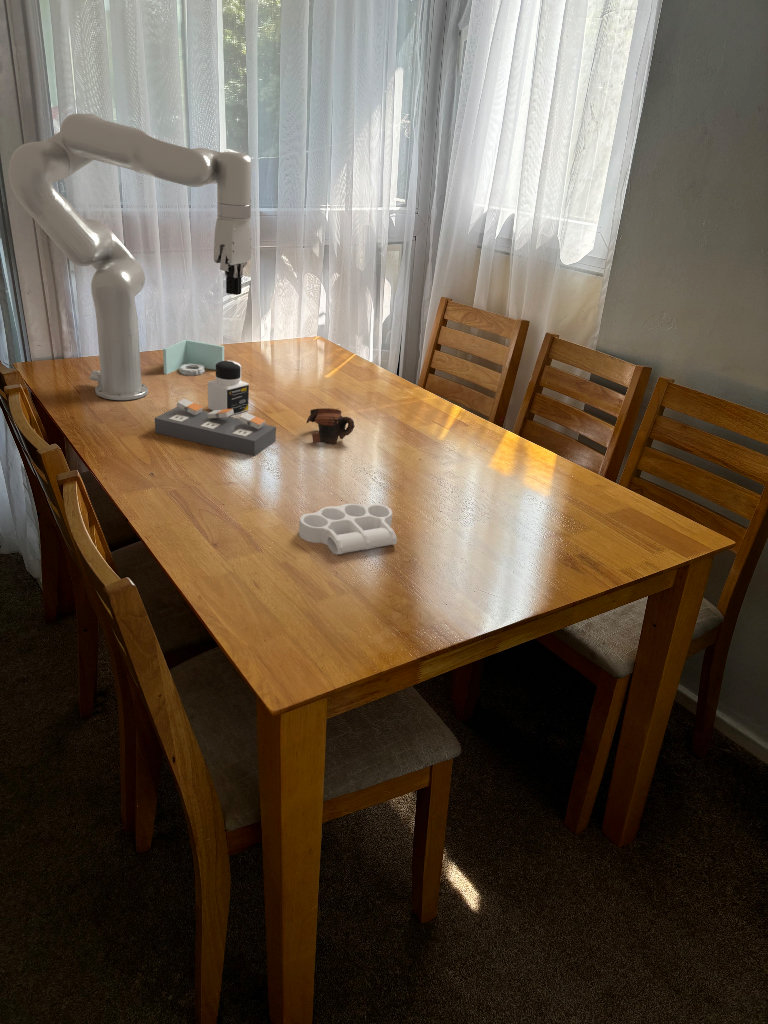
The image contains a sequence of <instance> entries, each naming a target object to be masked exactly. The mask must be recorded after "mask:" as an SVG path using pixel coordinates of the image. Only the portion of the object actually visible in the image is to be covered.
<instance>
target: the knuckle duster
mask: <svg viewBox="0 0 768 1024" xmlns="http://www.w3.org/2000/svg"><path fill="white" fill-rule="evenodd" d="M392 519H393V510H392V509H391V508H390V507H389V506H386V505H385V504H381V503H375V502H373V503H370V504H359V503H344V504H342V505H337V506H335V505H334V506H332V505H330V506H329V505H328V506H325V507H322V508H320V509H319V510H318V511H315V512H311V513H304V514H302V515H301V516H300V517H299V524H298V525H299V526H298V535H299V537H300V538H301V539H302V540H304V541H306V542H309V543H314V544H315V543H316V544H320V543H321V544H324V545H326V546H327V547H328V548H329V551H330V552H331V553H332V554H334V555H337V556H338V555H342V554H347V553H353V552H358V551H359V552H360V551H365V550H370V549H375V548H376V549H377V548H381V547H385V546H387V547H388V546H393V545H396V544H397V543H398V539H397V538H398V537H397V535H396V533H395V531H394V529H393V528H392V527H391V526H392Z"/></svg>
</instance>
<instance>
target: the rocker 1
mask: <svg viewBox="0 0 768 1024" xmlns="http://www.w3.org/2000/svg"><path fill="white" fill-rule="evenodd" d="M176 407H180V408H182V409H184V410H185V411H187V412H189V413H191V414H193V415H197V414H199V413H200V412H202V410H203V409H204V407H203V406H202V405H199V404H197V403H195V402H193V401H191V400H188V399H186V398H182V399H180V400H179V401H177V403H176ZM203 411H204V410H203Z"/></svg>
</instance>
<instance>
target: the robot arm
mask: <svg viewBox="0 0 768 1024" xmlns="http://www.w3.org/2000/svg"><path fill="white" fill-rule="evenodd" d="M93 161H96V162H97V161H98V162H101V163H105V164H109V165H113V166H116V167H119V168H124V169H127V170H130V171H133V172H137V173H139V174H145V175H147V176H150V177H153V178H156V179H159V180H164V181H166V182H171V183H175V184H179V185H183V186H186V187H192V188H199V187H203V186H207V185H209V184H217V187H216V189H217V190H216V192H217V193H216V197H217V198H216V199H217V200H216V204H217V205H216V206H217V208H216V209H217V211H216V212H217V214H216V216H217V217H216V221H215V228H214V237H213V238H214V241H213V261H214V263H215V264H219V269H220V271H223V272H224V276H225V292H226V293H227V294H228V295H234V296H238V295H241V294H242V277H243V272H244V268H245V267H246V266H247V265H248V262H249V261H250V260H251V257H252V232H251V219H252V218H251V216H252V214H251V213H252V210H251V208H252V205H251V204H252V160H251V157H250V156H249V155H248V154H246V153H242V152H232V151H222V152H220V151H217V150H212V149H209V148H203V147H195V148H191V147H190V148H189V147H185V146H182V145H177V144H173V143H169V142H166V141H163V140H159V139H157V138H154V137H152V136H150V135H148V134H147V133H146V132H145V131H143V130H141V129H139V128H137V127H132V126H128V125H124V124H120V123H116V122H112V121H110V120H105V119H103V118H101V117H99V116H98V115H95V114H92V113H72V114H69V115H68V116H66V117H65V118H64V120H63V121H62V122H61V125H60V130H59V132H57V133H55V134H54V135H52V136H51V137H50V138H48V139H46V140H43V141H42V140H41V141H30V142H27V143H26V142H25V143H23V144H22V145H19V146H18V147H17V148H16V149H15V151H14V152H12V155H11V158H10V160H9V163H8V173H7V174H8V180H9V185H10V188H11V190H12V192H13V194H14V196H15V198H16V199H17V200H18V202H19V204H20V205H21V206H22V207H23V208H24V210H25V211H26V212H27V213H28V214H29V215H30V216H31V217H32V218H33V220H34V221H35V222H36V223H37V224H38V225H39V227H40V228H41V229H42V230H43V232H44V233H45V234H46V235H47V236H48V237H49V238H50V239H51V241H52V242H53V243H54V244H55V245H56V246H57V247H58V249H59V250H60V251H61V253H62V254H63V255H64V256H65V257H66V258H67V259H68V260H69V261H70V262H72V264H74V265H76V266H79V267H89V266H92V267H93V268H94V270H96V271H95V272H94V274H93V275H92V278H91V283H90V290H91V291H90V292H91V295H92V301H93V305H94V311H95V320H96V331H97V344H98V356H99V370H96V369H93V370H92V371H91V374H90V375H89V380H91V381H96V382H97V385H96V386H95V389H94V390H95V395H97V396H98V397H99V398H100V397H101V398H102V399H106V400H111V401H132V400H137V399H141V398H143V397H145V396H147V394H148V393H149V388H148V386H147V385H146V384H144V383H142V372H141V371H142V369H141V354H140V353H141V352H140V351H141V348H140V332H139V321H138V319H139V318H138V312H137V307H136V300H135V297H136V296H137V295H138V294H139V293H140V292H141V291H142V290H143V289H144V286H145V283H146V275H145V272H144V270H143V267H142V266H141V264H140V262H139V261H138V260H137V259H136V258H135V256H134V255H133V254H132V253H131V252H130V251H129V250H128V248H127V247H126V246H125V245H124V243H122V241H121V240H120V239H119V238H118V237H117V235H116V234H115V233H114V232H113V230H111V229H110V227H108V226H107V225H106V224H104V223H102V222H101V221H99V220H96V219H92V218H91V219H89V218H88V219H85V218H83V217H82V216H81V215H80V214H79V212H77V210H76V209H75V208H74V206H73V205H72V204H71V203H70V202H69V200H68V199H66V198H65V197H64V195H62V194H61V193H60V191H58V190H57V189H56V188H55V187H54V185H53V183H55V182H60V181H62V180H64V179H67V178H69V177H70V176H71V175H73V174H74V173H76V172H77V171H80V169H82V168H84V167H85V166H87V165H88V164H90V163H91V162H93Z"/></svg>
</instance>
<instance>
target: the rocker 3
mask: <svg viewBox="0 0 768 1024" xmlns="http://www.w3.org/2000/svg"><path fill="white" fill-rule="evenodd" d="M238 418H239V421H242V422H244V423H246V424H248V425H250V426H252V427H255V428H257V429H260V428H261V427H263V426H264V425H265V424H266V420H265V419H263V418H261V417H258V416H255V415H254V414H251V413H248V411H245V412H243V414H241V415H240V416H239V417H238Z"/></svg>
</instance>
